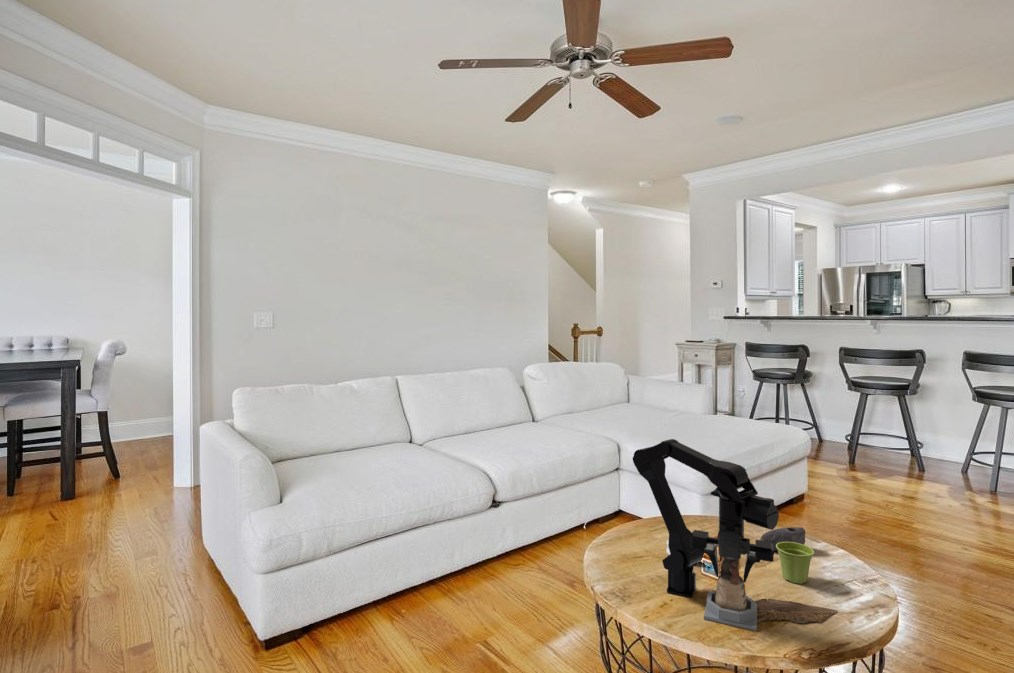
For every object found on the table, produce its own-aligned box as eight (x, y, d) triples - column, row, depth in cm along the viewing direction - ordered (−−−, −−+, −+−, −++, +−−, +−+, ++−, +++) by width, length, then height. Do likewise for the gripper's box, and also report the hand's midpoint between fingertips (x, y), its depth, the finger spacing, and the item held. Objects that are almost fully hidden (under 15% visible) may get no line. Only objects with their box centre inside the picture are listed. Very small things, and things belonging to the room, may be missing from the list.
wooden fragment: (740, 622, 127) (740, 618, 127) (725, 599, 138) (725, 595, 138) (852, 627, 124) (852, 623, 124) (828, 603, 135) (828, 599, 135)
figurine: (741, 599, 134) (742, 552, 133) (750, 614, 127) (751, 565, 126) (712, 596, 135) (713, 550, 134) (719, 612, 127) (720, 563, 127)
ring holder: (703, 619, 128) (703, 606, 128) (708, 596, 138) (708, 585, 138) (756, 631, 123) (756, 618, 123) (757, 606, 133) (757, 595, 133)
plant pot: (771, 569, 153) (771, 540, 153) (807, 572, 151) (807, 542, 151) (781, 585, 144) (781, 554, 144) (819, 588, 142) (819, 556, 142)
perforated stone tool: (764, 554, 164) (764, 531, 164) (755, 546, 169) (756, 525, 169) (811, 553, 164) (812, 531, 164) (802, 546, 169) (802, 524, 169)
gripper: (687, 521, 127) (687, 585, 127) (774, 535, 119) (773, 603, 119) (692, 507, 137) (692, 566, 137) (773, 518, 129) (772, 581, 129)
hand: (730, 579), depth 130 cm, fingers closed on figurine, 6 cm apart
